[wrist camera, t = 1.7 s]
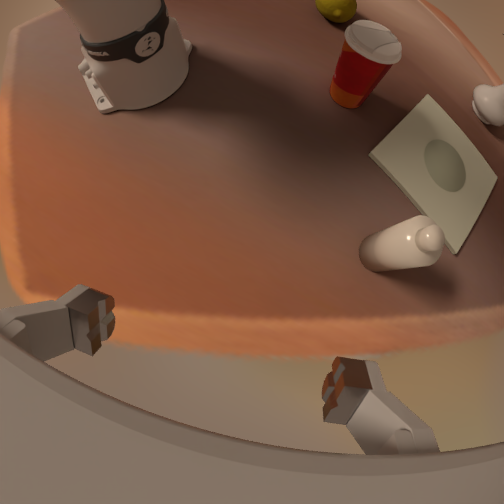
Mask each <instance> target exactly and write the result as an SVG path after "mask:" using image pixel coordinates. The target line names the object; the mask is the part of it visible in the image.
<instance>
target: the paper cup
mask: <svg viewBox="0 0 504 504" xmlns="http://www.w3.org/2000/svg"><path fill="white" fill-rule="evenodd" d="M397 40H398V39H397V38H396V37H395V35H394V34H392V33H391V31H390V30H389V29H388V28H386V27H384V26H383V25H381V24H378V23H376V22H373V21H369V20H358V21H355V22H354V23H352V25H350V26H348V27H347V28H346V30H345V41H344V44H343V48H342V51H341V54H340V57H339V60H338V63H337V66H336V70H335V73H334V76H333V79H332V83H331V86H330V95H331V97H332V99H333V100H334V101H335V102H336V103H337V104H339V105H340V106H342V107H345V108H350V109H352V108H357V107H359V106H360V105H361V104H362V103H363V102H364V101H365V99H366V98H367V97H368V96H369V94H370V93H371V92H372V91H373V89H374V88H375V87H376V86H377V84H378V83H379V82H380V80H381V79H382V78H383V77H384V75H385V74H386V73H387V72H388V70H389V69H390V68H391V66H392V65H393V64H394V63H397V62H398V61H399V60H400V58H401V49H402V47H401V43H400V42H398V41H397Z"/></svg>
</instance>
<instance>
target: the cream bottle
mask: <svg viewBox="0 0 504 504" xmlns="http://www.w3.org/2000/svg"><path fill="white" fill-rule="evenodd" d="M444 243H445V235H444V232H443V230H442V229H441V227H439V226H438V225H437V224H436V223H435V222H434V221H433V220H432V219H431V218H429V217H427V216H423V215H419V216H416V217H413V218H411V219H408V220H406V221H404V222H401V223H399V224H396V225H394V226H392V227H389V228H387V229H384V230H382V231H379V232H377V233H374V234H372V235H369V236H367V237H366V238H365V239H364V240H363V241H362V243H361V245H360V248H359V257H360V260H361V263H362V264H363V266H364V267H365V268H366V269H368V270H370V271H373V272H380V271H389V270H398V269H407V268H415V267H423V266H430V265H432V264H434V263H435V262H436V261H437V260H438V259H439V257H440V255H441V253H442V249H443V246H444Z"/></svg>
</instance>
